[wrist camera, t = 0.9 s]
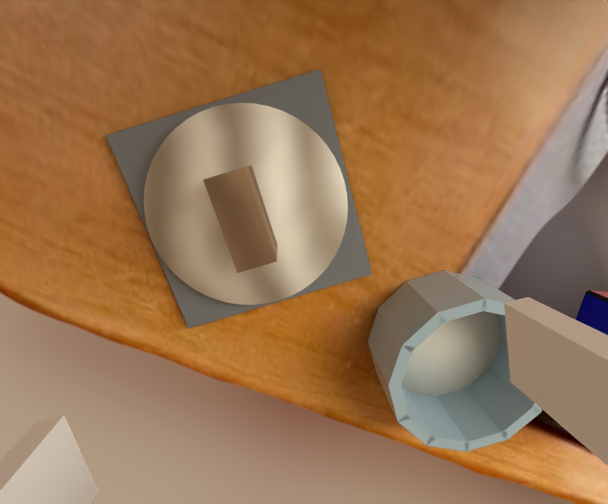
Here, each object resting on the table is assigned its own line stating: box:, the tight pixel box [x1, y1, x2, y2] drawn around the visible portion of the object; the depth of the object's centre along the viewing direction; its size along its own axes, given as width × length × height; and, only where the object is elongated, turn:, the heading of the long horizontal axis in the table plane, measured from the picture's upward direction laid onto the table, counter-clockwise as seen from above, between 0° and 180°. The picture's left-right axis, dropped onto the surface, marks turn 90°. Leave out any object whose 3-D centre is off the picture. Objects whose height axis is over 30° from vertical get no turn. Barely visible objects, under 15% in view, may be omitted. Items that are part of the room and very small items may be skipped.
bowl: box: [368, 270, 542, 452], centre depth 32 cm, size 14×14×7 cm
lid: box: [144, 103, 348, 305], centre depth 27 cm, size 17×17×6 cm
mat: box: [106, 69, 372, 328], centre depth 30 cm, size 18×18×1 cm
